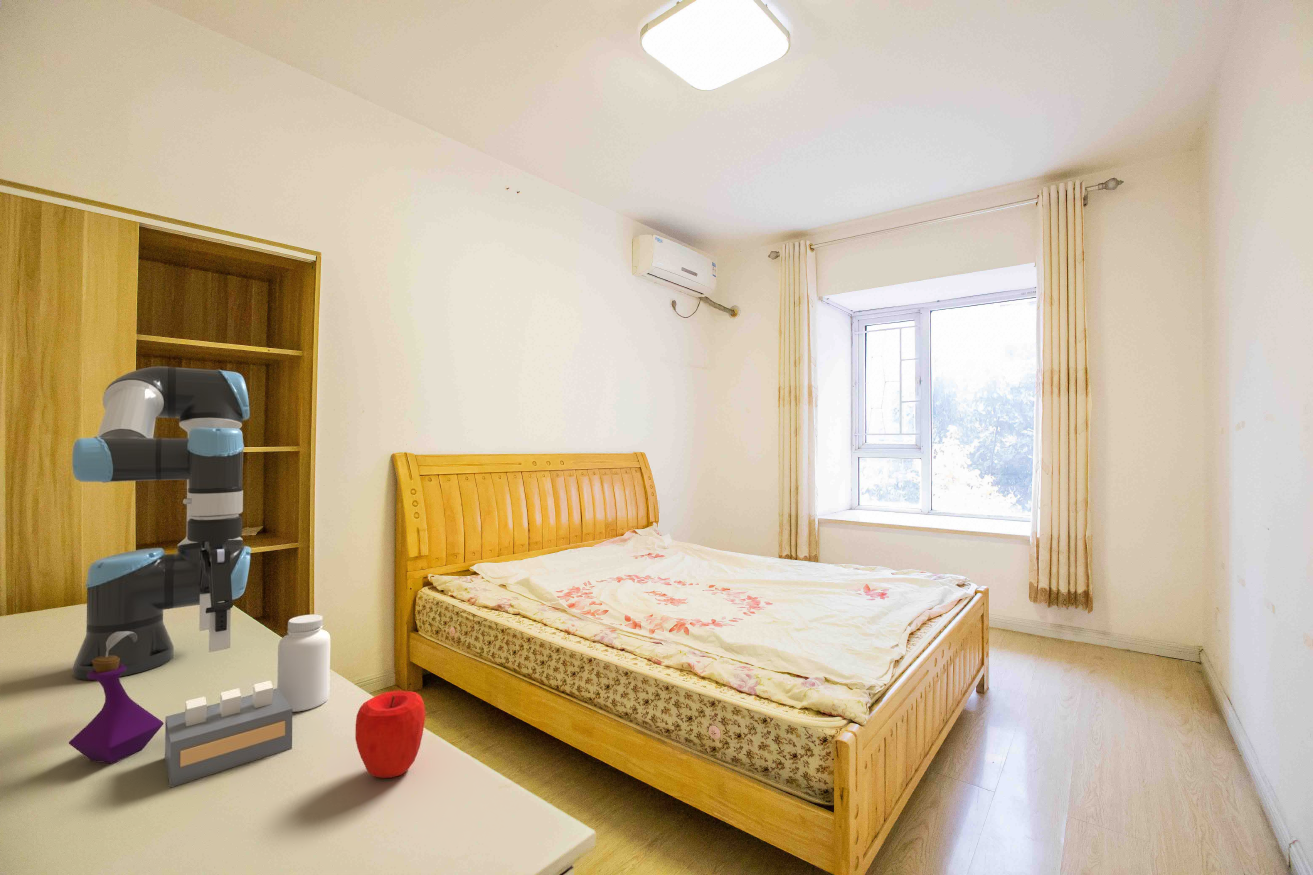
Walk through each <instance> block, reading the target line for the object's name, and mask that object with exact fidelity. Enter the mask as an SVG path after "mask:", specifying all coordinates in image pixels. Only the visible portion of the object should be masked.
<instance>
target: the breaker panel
mask: <svg viewBox="0 0 1313 875" xmlns="http://www.w3.org/2000/svg"><path fill="white" fill-rule="evenodd" d="M164 721H165V723H164V724H165V726H164V727H165V730H164V731H165V732H164V733H165V734H164V736H165V737H164V740H165V741H164V742H165V744H164V746H165V748H164V759H165V765H166V770H167V778H168V782H169V787H170V788H173V787H176V786H179V785H183V784H185V783H189V782H192V781H196V780H198V779H202V778H205V777H207V776H211V775H213V774H216V773H220V772H224V771H226V770H229V769H232V768H235V767H238V766H242V765H246V764H249V763H251V762H254V761H257V760H260V759H264V758H266V757H269V756H272V755H276V754H279V753H282V752H285V751H288V750H292V749H293V712H292V707H291V706H290V704H289V703H288V701H287V700H286V698H285V697H284V696H283V694H282V693H281V691H280V690H279V688H277V687H276V688H273V698H272V704H269V705H265V706H262V707H258V708H255V707H254V704H253V694H250V695H244V696H241V707H240V712H239V713H236V714H232V715H228V716H224V717H222V716H221V712H220V702H218V703H215V704H214V703H213V704H209V705H207V712H206V722H202V723H198V724H195V725H191V726H187V727H186V721H185V711H182V712H179V713H174V714H170V715H166V716H165V720H164Z"/></svg>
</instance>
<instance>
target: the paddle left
mask: <svg viewBox="0 0 1313 875" xmlns="http://www.w3.org/2000/svg"><path fill="white" fill-rule="evenodd" d="M207 706H208V704H207V699H206V696H201V697H196V698H193V699H189V700H186V701H185V708H184V709H185V711H184V712H185V721H186V727H187V726H191V725H195V724H198V723H202V722H206V712H207Z"/></svg>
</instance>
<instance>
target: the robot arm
mask: <svg viewBox="0 0 1313 875" xmlns="http://www.w3.org/2000/svg"><path fill="white" fill-rule="evenodd" d="M249 403H250V401H249V394H248V389H247V385H246V382H245V378H244V377H243V375H242V374H241V373H239V372H236V371H231V370H230V371H228V370H221V369H206V368H205V369H203V368H189V367H171V366H161V365H160V366H149V367H144V368H139V369H137V370H133V371H130V372H128V373H126V374H123V375H121V376H118V377H117V378H116V379H114V380H113V381H112V382H110V384H108V385H107V387H106V388H105V390H104V392H103V395H102V406H103V408H104V410H105V412H104V414H103V417H102V420H101V422H100V426H99V428H98V432H97V436H94V437H81V438H77V439H76V440H75V441H74V443H73V447H72V459H71V461H72V463H71V465H72V473H73V474H72V475H73V477H74V479H75V480H77V481H79V482H82V483H83V482H86V483H89V482H90V483H92V482H93V483H99V482H100V483H103V484H104V483H107V484H108V483H114V482H115V483H117V482H141V481H169V480H170V481H174V480H175V481H176V480H177V481H178V480H186V498H184V499H183V501H182V504H184V505H186V536H185V538H184V539H182V540H181V541H180V542H179V543H178V544H177V553H167V554H166V552H165V549H164V548H162V547H151V548H141V549H136V550H132V551H131V550H130V551H126V552H122V553H117V554H113V555H109V556H105V557H102V558H99V559H97V560H95V561H94V562H92V563H91V564H90V566H89V567H88V569H87V570H88V571H87V579H86V580H87V581H86V584H85V588H86V629H85V630H86V631H85V632H86V633H85V637H84V640H83V641H82V644H81V647H80V648H79V651H78V653H77V655H76V658H75V661H74V662H73V666H72V670H73V672H72V674H73V675H72V677H73V678H74V679H77V680H83V681H94V680H95V681H97V680H96V679H89V678H88V676H87V675H88V673H89V672H90V671H91V670H93V669H94V666H93V663H92V660H93V659H95V658H96V657H99V656H104V655H106V651H107V648H106V642H107V640H108V638H109V637H110V636H111V635H112V634H113V633H115V632H122V631H130V632H134V633H135V634H136V635H137V640H136V642H135V643H134V642H133V640H132V638H131V637H130V636H128V635H127V636H125V637H124V638H122V639H121V640H120V641H119V642H117V643H116V644H115V645H114V646H113V647H112V648H111V649H109V651H108V655H115V656H117V657H119V658H120V662H119V664H123V665H124V666H126V670H125V671H124V672H123V673H121V675H120V678H121V677H125V676H129V675H134V674H138V673H142V672H146V671H149V670H151V669H155V668H157V667H160V666H162V665H164V664H166V663H168V662H170V661H171V660H173V658H174V652H175V651H174V644H173V641H172V640H171V637H170V634H169V632H168V630H167V628H166V626H165V622H164V610H170V609H180V608H185V607H192V606H199V624H198V626H199V632H201V631H208V630H209V631H208V632H209V633H208V652H209V653H212V652H213V653H214V652H218V651H223V650H228V649H231V625H232V624H231V620H232V617H231V616H232V615H231V614H232V613H231V612H232V609H233V608H234V602H233V600H236V599H239V598H240V597H241V596H242V595H244V593H245V590H246V586H247V582H248V577H249V576H248V575H249V571H250V563H251V552H252V548H251V547H250V546H247V545H244V540H243V538H242V537H241V536H242V535H243V517H242V516H241V515H239V514H242V513H243V511H244V490H243V467H244V449H245V445H244V439H243V436H244V434H243V432H242V430H241V428H242V427H243V421H246V420H248V419H250V404H249ZM156 418H169V419H178V420H179V421H178V426H179V427H180V428H181V429H183V430H184V431H185V432H187V438H186V437H185V438H184V437H182V438H181V437H180V438H179V437H175V438H172V437H169V438H167V437H166V438H165V437H154V433H155V426H156Z"/></svg>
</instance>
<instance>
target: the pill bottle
mask: <svg viewBox="0 0 1313 875" xmlns="http://www.w3.org/2000/svg"><path fill="white" fill-rule="evenodd" d="M323 624H324V617H323V615H320V614H304V615H298V616H294V617H292V618H290V619H289V620H288V621H287V632H286V633H287V634H286V635H284V636H283V637H282V638H281V639H280V641H279V643H278V646H277V684H276V686H277V687H276V688H279V690H280V691H281V693H282V694H283V696H284V697H285V698H286V700H287V701H288V703H289V704H290V706H291V707H292V713H296V712H301V711H302V712H303V711H308V710H311V709H314V708H317V707H319V706H321V705H323V704H325V703H326V702H327V701H328V700H329V698H330V692H331V691H330V690H331V689H330V687H331V685H330V684H331V635H330V633H329V632H328V631H327V630H324V629H323Z"/></svg>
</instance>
